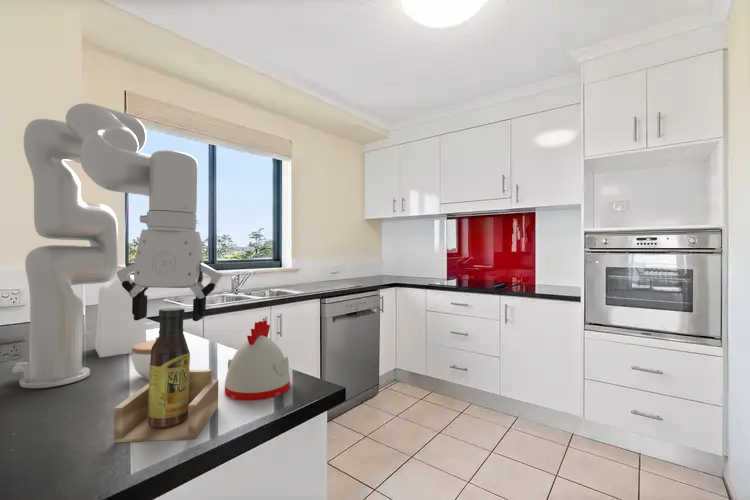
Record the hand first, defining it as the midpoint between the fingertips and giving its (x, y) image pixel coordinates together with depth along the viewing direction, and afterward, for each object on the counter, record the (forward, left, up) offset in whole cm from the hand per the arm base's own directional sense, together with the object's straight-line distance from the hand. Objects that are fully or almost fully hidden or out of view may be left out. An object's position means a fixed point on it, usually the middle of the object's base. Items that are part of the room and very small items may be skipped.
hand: (169, 319), depth 66 cm
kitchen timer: (+13, +16, -19) cm, 28 cm away
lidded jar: (-13, +27, -19) cm, 36 cm away
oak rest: (+1, 0, -19) cm, 19 cm away
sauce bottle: (0, 0, -18) cm, 18 cm away
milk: (-35, +53, -19) cm, 67 cm away
